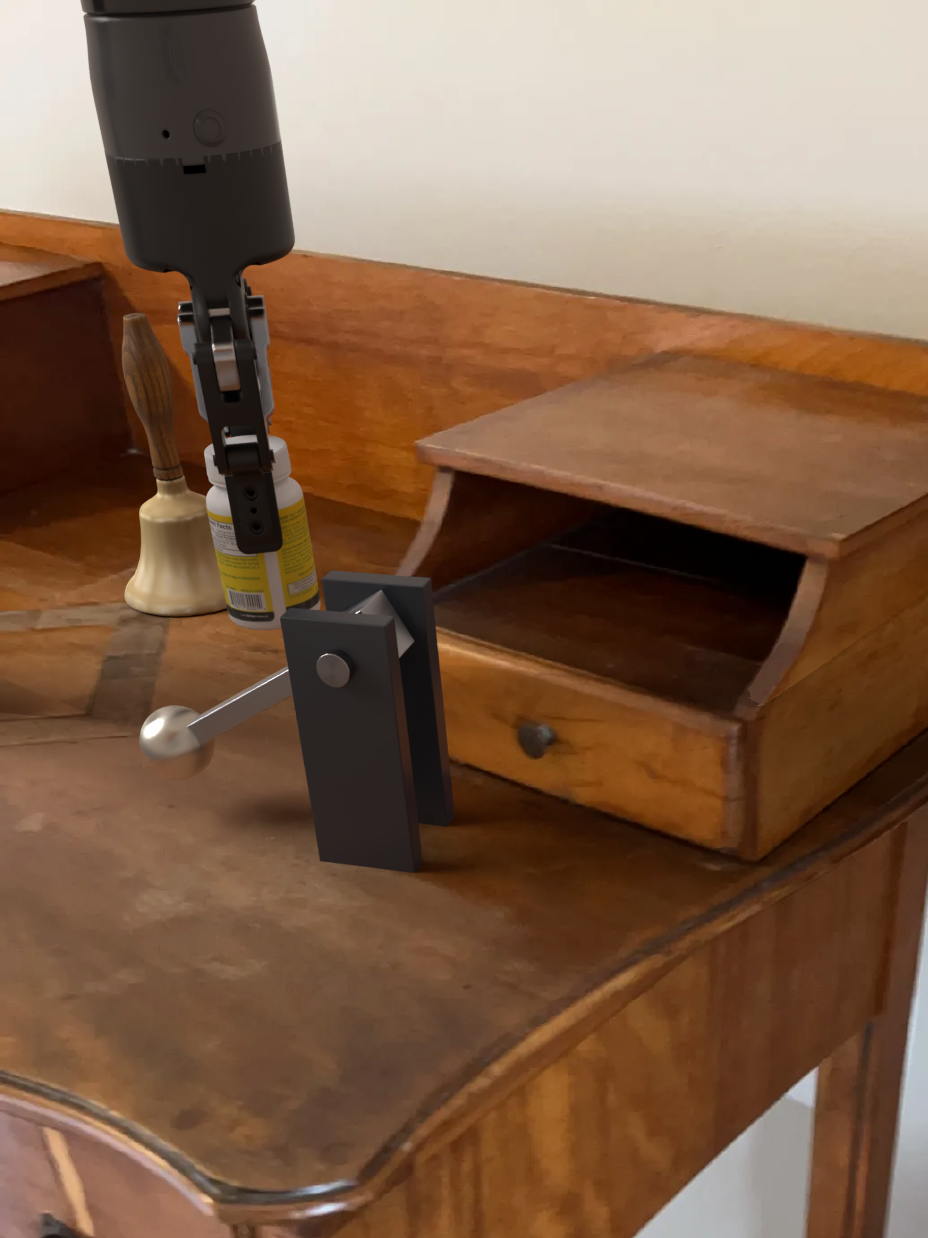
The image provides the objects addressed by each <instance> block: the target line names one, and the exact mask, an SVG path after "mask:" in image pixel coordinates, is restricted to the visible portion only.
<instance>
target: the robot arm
mask: <svg viewBox="0 0 928 1238" xmlns="http://www.w3.org/2000/svg"><path fill="white" fill-rule="evenodd" d="M255 2H256V0H80V5H81V10H82V12H83V13H85V14H84V15H83V17H82V18H83V22H84V23H83V24H84V29H85V37H86V50H87V62H88V71H89V80H90V86H91V92H92V97H93V103H94V106H95V112H96V115H97V121H98V125H99V132H100V136H101V141H102V145H103V149H104V156H105V161H106V164H107V165H106V166H107V171H108V176H109V180H110V185H111V191H112V195H113V200H114V206H115V209H116V215H117V220H118V225H119V230H120V236H121V240H122V244H123V249H124V253H125V256H126V258H127V259H128V260H129V262H130V263H131V264H133V265H134V266H135V267H137V268H139V269H142V270H145V271H149V272H152V273H153V272H154V273H161V274H167V273H171V272H176V273H179V274H181V275H183V276H184V278H185V279H186V281H187V282H188V285H189V291H190V292H189V293H190V298H191V300H184V301H178V302H177V305H178V312H179V313H177V314H176V318H177V325H178V330H179V331H178V332H179V336H180V343H181V347H182V350H183V351H184V352H185V355H186V356H187V357H188V358H189V361H190V367H191V373H192V380H193V386H194V391H195V397H196V401H197V402H196V403H197V409H198V413H199V415H200V417H201V418H202V419H203V420H204V421H205V422H206V423H208V427H209V432H210V437H211V442H212V443H211V444H213V448H214V453H215V455H212V456H213V462H214V467H217V469H218V472H219V475H220V474H221V476H224V478H225V483H226V489H227V494H228V499H229V505H230V510H231V516H232V521H233V527H234V532H235V538H236V543H237V547H238V549H239V550H240V551H241V552H242V553H244V554H257V553H267V552H276V551H278V550H280V549H281V547H282V545H283V537H282V530H281V524H280V518H279V512H278V506H277V500H276V493H275V487H274V481H273V475H272V472H273V471H274V470H273V463H276V462H275V456H274V452H273V449H271V450H270V444H269V437H268V435H269V434H270V433H271V430H270V426H273V423H272V417H273V415H274V414H275V413H274V412H275V409H276V408H275V407H276V405H275V400H274V393H273V379H272V373H271V365H270V360H269V354H268V351H269V349H270V347H271V339H270V338H271V337H270V329H269V321H268V316H267V308H266V303H265V301H266V300H265V296H264V294H259V295H253V293H252V287H251V285H249V286H248V281H247V280H248V279H247V278H246V277H244V276H243V273H244V271H245V270H246V269H247V268H248V267H250V266H264V265H268V264H271V263H273V262H277V261H279V260H281V259H283V258H285V257H286V256H287V255H289V254H290V253H291V252H292V250H293V249H294V247H295V243H296V235H295V234H296V233H295V228H294V221H293V213H292V206H291V199H290V191H289V185H288V179H287V171H286V165H285V164H286V163H285V157H284V151H283V143H282V137H281V128H280V121H279V115H278V114H279V113H278V108H277V102H276V93H275V86H274V80H273V74H272V70H271V69H272V68H271V64H270V60H269V59H270V58H269V55H268V51H267V48H266V43H265V40H264V36H263V33H262V29H261V25H260V24H261V23H260V20H259V13H258V9H257V6H256V4H254V3H255ZM245 435H256V437H257V442H248V443H237V444H227V442H226V439H227V438H232V437H237V436H245Z"/></svg>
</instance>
